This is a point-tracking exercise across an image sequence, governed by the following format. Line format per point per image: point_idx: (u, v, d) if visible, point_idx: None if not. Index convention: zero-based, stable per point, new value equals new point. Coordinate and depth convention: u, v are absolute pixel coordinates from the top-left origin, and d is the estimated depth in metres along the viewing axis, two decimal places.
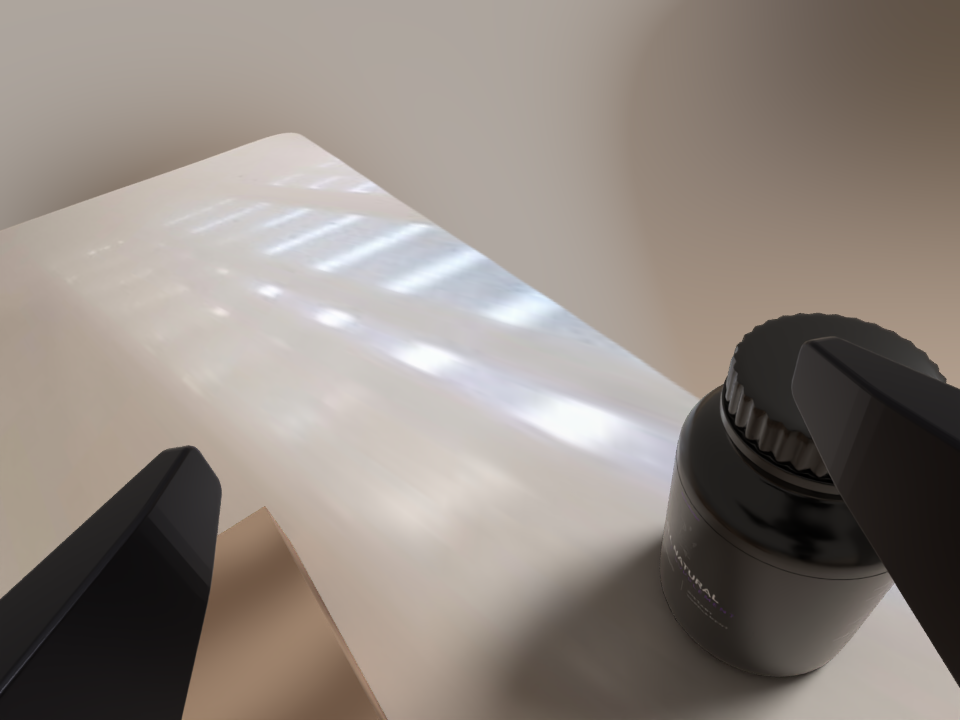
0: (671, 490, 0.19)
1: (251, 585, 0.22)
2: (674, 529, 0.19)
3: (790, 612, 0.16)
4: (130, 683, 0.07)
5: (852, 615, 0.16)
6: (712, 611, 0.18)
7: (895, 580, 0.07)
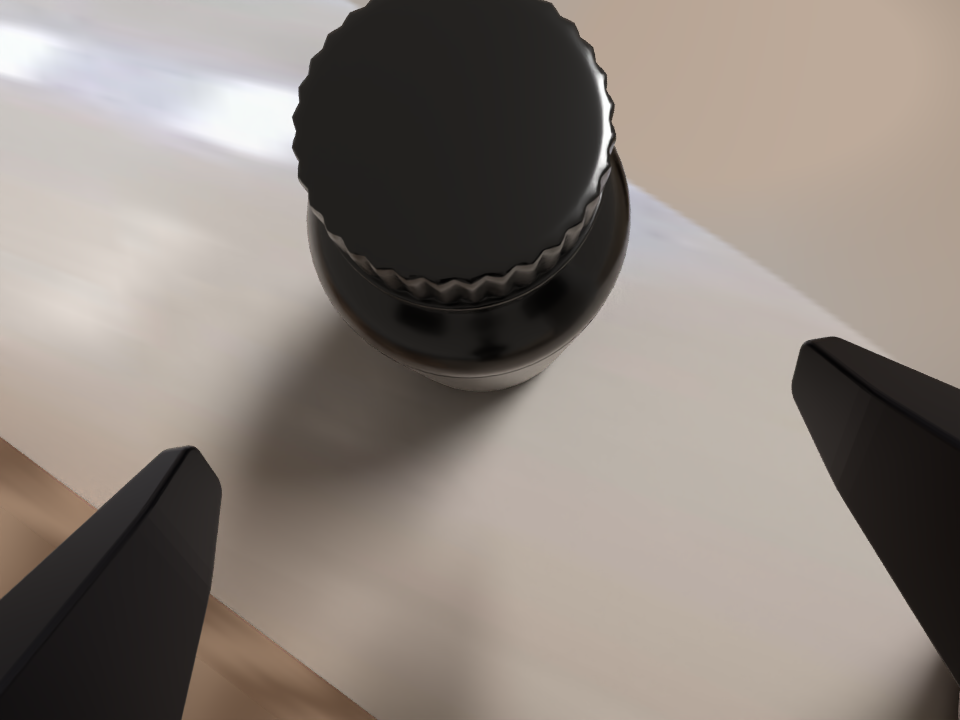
0: None
1: None
2: None
3: (482, 383, 0.14)
4: (130, 683, 0.07)
5: (549, 361, 0.15)
6: None
7: (895, 580, 0.07)
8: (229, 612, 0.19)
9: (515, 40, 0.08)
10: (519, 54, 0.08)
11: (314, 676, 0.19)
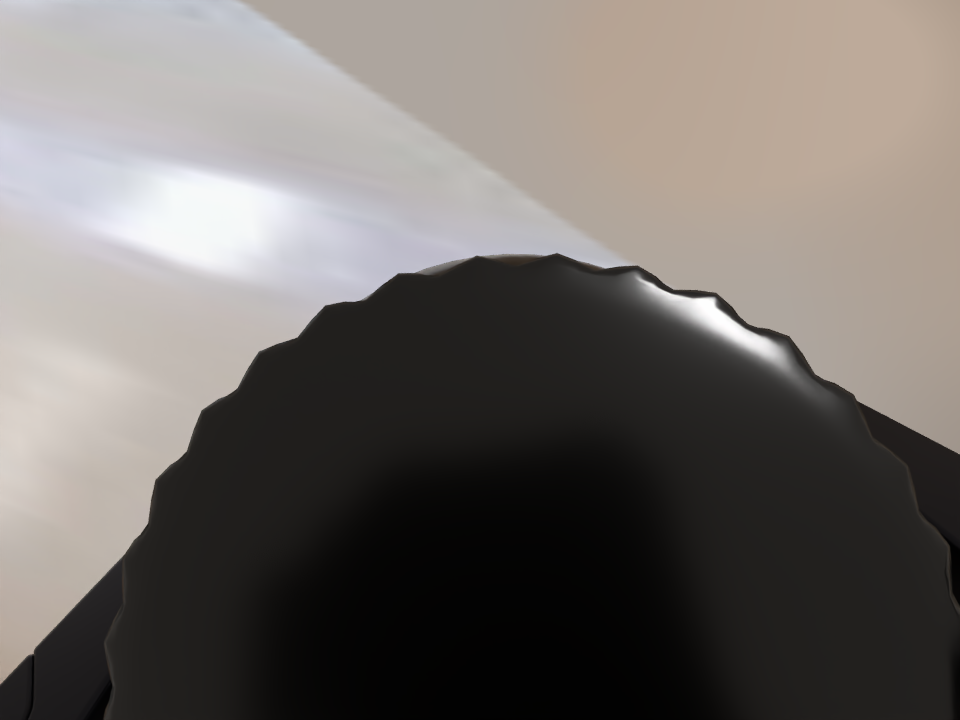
0: None
1: None
2: None
3: None
4: None
5: None
6: None
7: None
8: None
9: (698, 445, 0.03)
10: (710, 485, 0.03)
11: None
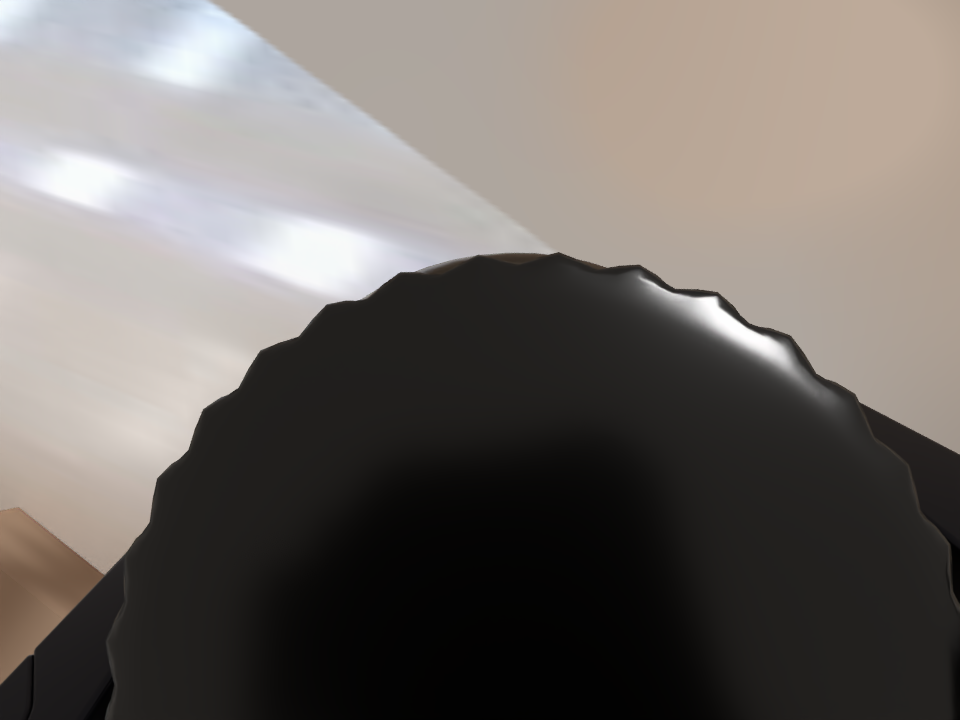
0: None
1: None
2: None
3: None
4: None
5: None
6: None
7: None
8: None
9: (699, 444, 0.03)
10: (711, 485, 0.03)
11: None
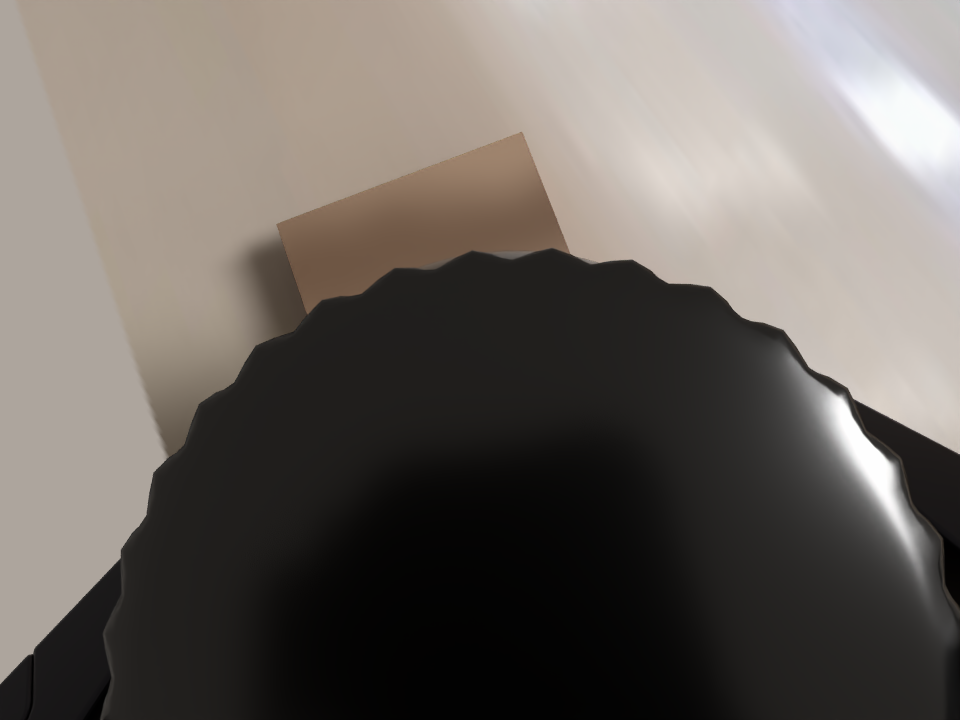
0: None
1: (506, 234, 0.19)
2: None
3: None
4: None
5: None
6: None
7: None
8: None
9: (692, 437, 0.03)
10: (704, 478, 0.03)
11: None
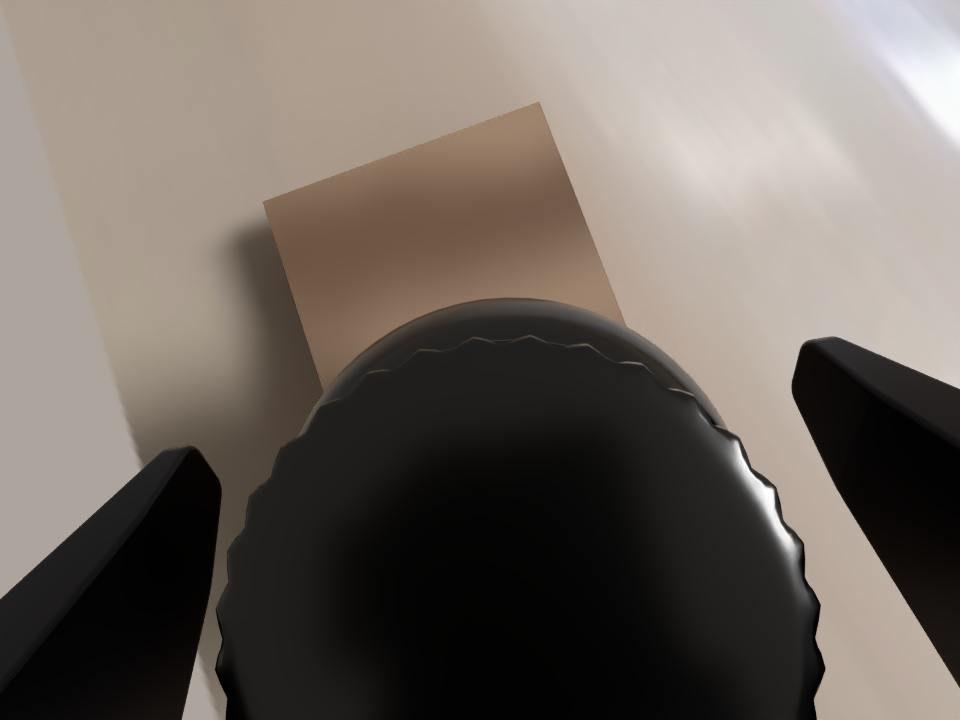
0: None
1: (520, 216, 0.17)
2: None
3: None
4: (130, 683, 0.07)
5: None
6: None
7: (895, 580, 0.07)
8: None
9: (628, 473, 0.04)
10: (636, 502, 0.04)
11: None
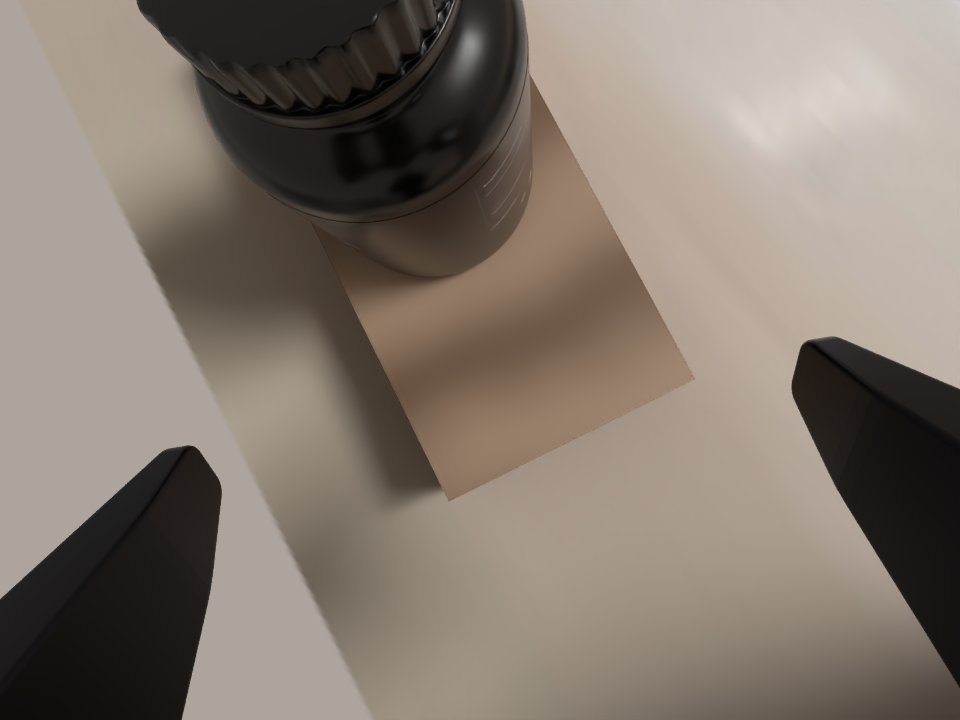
0: None
1: None
2: None
3: (419, 241, 0.14)
4: (130, 683, 0.07)
5: (485, 210, 0.14)
6: (369, 255, 0.16)
7: (895, 580, 0.07)
8: None
9: None
10: None
11: None
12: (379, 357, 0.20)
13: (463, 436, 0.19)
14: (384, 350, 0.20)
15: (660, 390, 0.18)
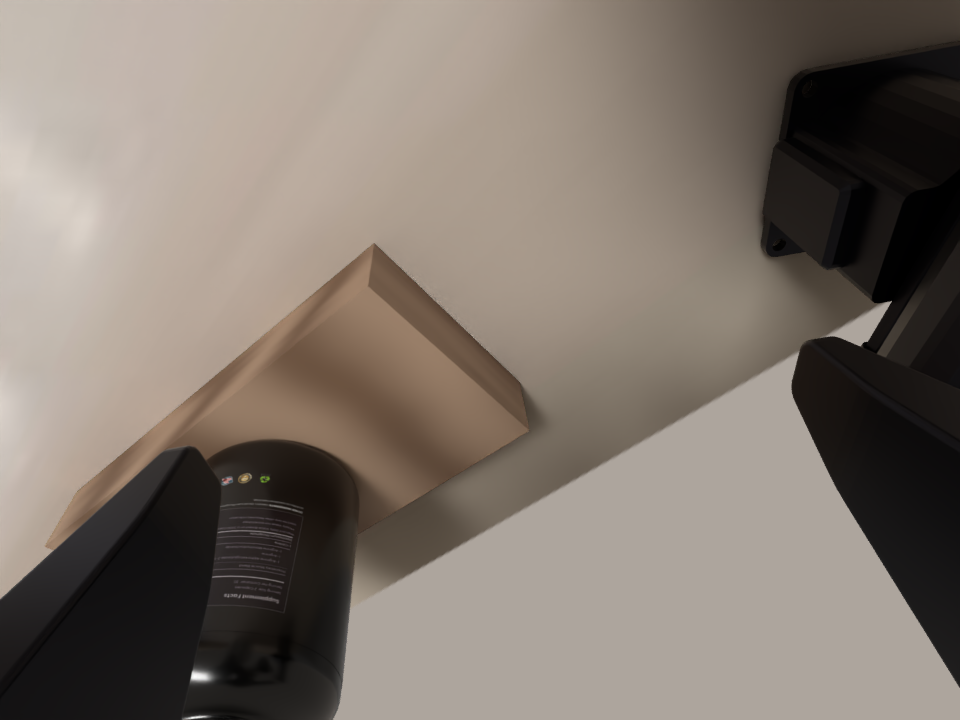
0: None
1: None
2: None
3: (332, 590, 0.19)
4: (130, 683, 0.07)
5: (292, 558, 0.18)
6: (353, 566, 0.22)
7: (895, 580, 0.07)
8: (256, 343, 0.23)
9: None
10: None
11: (317, 292, 0.22)
12: (428, 490, 0.25)
13: (474, 432, 0.23)
14: (422, 488, 0.25)
15: (389, 310, 0.19)
